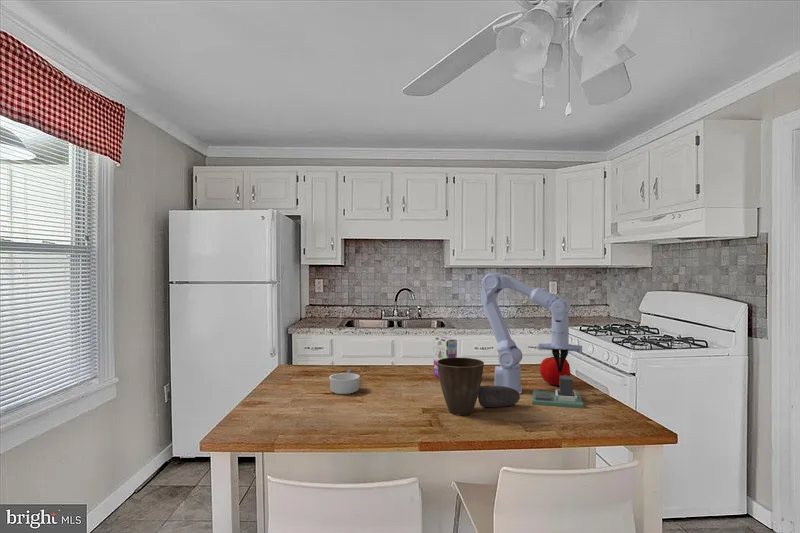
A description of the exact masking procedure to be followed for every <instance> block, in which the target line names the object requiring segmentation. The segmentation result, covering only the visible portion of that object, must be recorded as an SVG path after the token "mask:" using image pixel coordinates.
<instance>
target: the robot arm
mask: <svg viewBox="0 0 800 533" xmlns="http://www.w3.org/2000/svg"><path fill="white" fill-rule="evenodd" d="M480 286H481V291H480V303H482V307H483V309H484V312H485V314H486V317H487V319H488V322H489V325H490V327H491V329H492V332H493V335H494V337H495V339H496V342H497V348H496V349H497V350H496V351H497V353H498V362H499V364H500V365H495V366H494V382H493V384H494V385H493V386H504V387H509V388H512V389H515V390H516V391H518V392H519V394H522V391H523V387H522V386H521V385H522V384H521V383H522V382H521V379H522V378H521V367H522V366H521V364H520V362H521V361H522V359H523V353H522V350H521V349H520V348H518V346H517V344H516V342H515V341H514V340H513V339H512V337H511V334H510V332H509V330H508V328H507V327H508V326H507V324H506V322H505V320H504V316H503V314H502V313H501V310H500V307H499V304H498V302H497V298H498V296H499V294H500V292H502V290H503V289H511V290H514V291H516V292H517V293H521V294H523V295H525V296H528V297H529V298H530V300H531V302H532V303H534V304H536V305H537V306H540V307H542V308H544V309H546V310H549V311H550V312H551V336H550V337H551V338H550V339H551V343H538V346H537V347H538V351H551V354H552V357H554V358H555V361H556V364H557V368H558V372H562V368H563V364H564V362H565V359H566V360H567V357H568V355H569V352H579V353H583V345H578V344H570V343H569V340H570V339H569V338H570V336H569V335H570V333H569V332H570V330H569V327H570V324H569V322H570V319H569V311H570V309H571V303H570V301H569V300H568V299H567V298H565V297H561V296H559V294H558V293H556V294H554V293H552V292H549V291H548V290H547V288H545V287H542V288H541V287H537V288H533V287H531V286H529V285H527V284H525V283H524V282H522V281H520V280H518V279H516V278H515V277H513V276H510V275H508V274H504V273H503V272H494V273H493V272H489V273H487V274H485V275H484V277H483V278H482V280H481V283H480ZM559 357H560V364H559Z"/></svg>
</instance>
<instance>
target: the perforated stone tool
mask: <svg viewBox="0 0 800 533" xmlns="http://www.w3.org/2000/svg"><path fill="white" fill-rule="evenodd" d="M520 398H521V395H520V394H519V392H518V391H516V390H515V389H512V388H509V387H504V386H494V385H480V389H479V393H478V397H477V400H478V404H479V406H480V407H484V408H500V407H509V406H514V405H516V404H517V403H518V402H519V401H520Z"/></svg>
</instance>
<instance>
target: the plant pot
mask: <svg viewBox="0 0 800 533" xmlns="http://www.w3.org/2000/svg"><path fill="white" fill-rule="evenodd" d="M484 364H485V363H484V361H483V360H481V359H478V358H473V357H472V358H470V357H457V358H445V359H440V360H438V361H437V367H438V374H439V382H440V389H441V391H442V395H443V398H444V401H445V403H446V407H447V409H448V412H449V413H450V414H452V415H457V416H468V415H471V414H472V413H473V411H474V409H475V406H476V403H477V400H478V393H479V389H480V386H482V384H481V383H482V379H483V374H484V373H483V372H484V367H485V366H484Z"/></svg>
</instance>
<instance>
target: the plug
mask: <svg viewBox="0 0 800 533" xmlns="http://www.w3.org/2000/svg"><path fill="white" fill-rule="evenodd" d="M573 381H574V380H573V376H571V375H570V376H567V375H564V376H560V385H559V389H560V396H573V390H574V389H573V387H574V386H573V385H574V382H573Z"/></svg>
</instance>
